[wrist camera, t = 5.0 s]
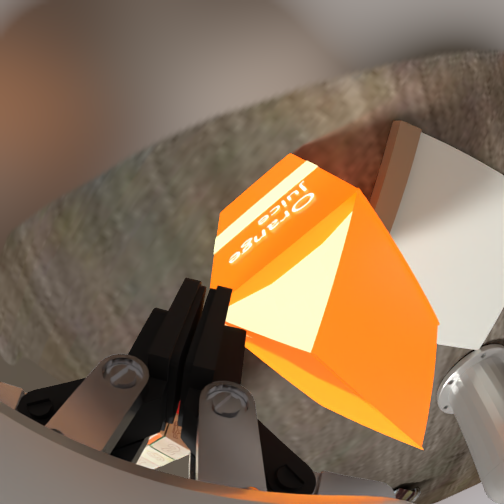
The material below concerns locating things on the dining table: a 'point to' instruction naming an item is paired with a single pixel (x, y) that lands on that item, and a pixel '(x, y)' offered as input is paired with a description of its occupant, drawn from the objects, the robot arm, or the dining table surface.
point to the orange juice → (329, 298)
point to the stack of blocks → (164, 446)
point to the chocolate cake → (407, 494)
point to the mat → (445, 229)
